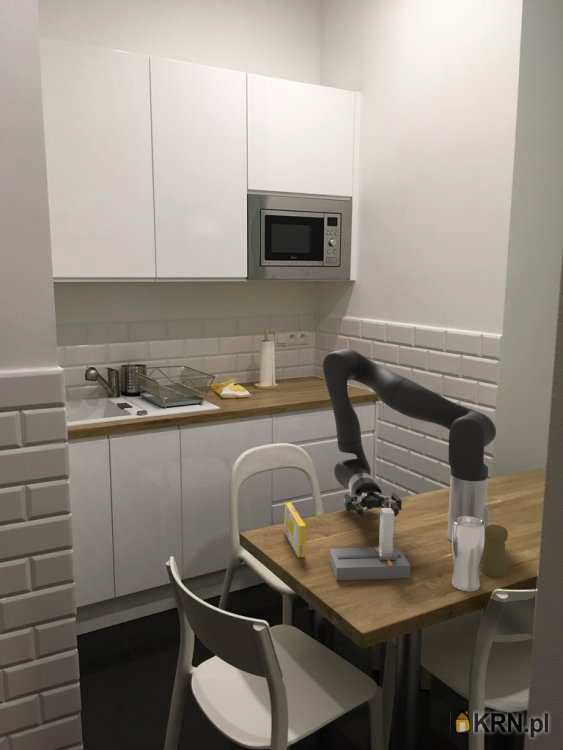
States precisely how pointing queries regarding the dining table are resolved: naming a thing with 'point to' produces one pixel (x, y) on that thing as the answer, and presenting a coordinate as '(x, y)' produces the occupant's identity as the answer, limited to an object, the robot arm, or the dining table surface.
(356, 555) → the fader console
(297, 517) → the candy box
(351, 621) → the dining table surface
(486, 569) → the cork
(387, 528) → the slider tab
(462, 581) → the beer glass
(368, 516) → the dining table surface
